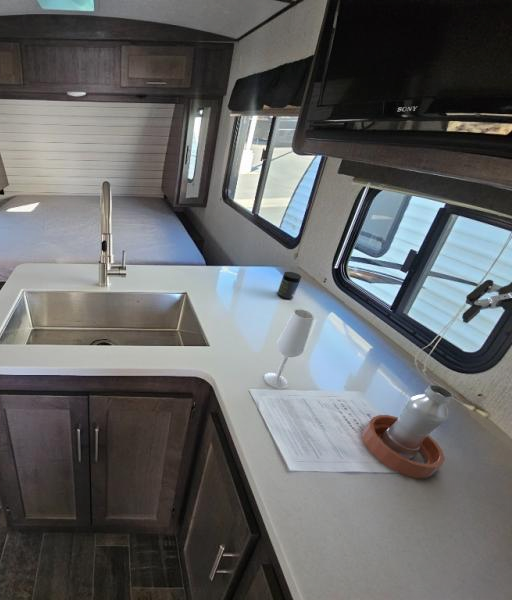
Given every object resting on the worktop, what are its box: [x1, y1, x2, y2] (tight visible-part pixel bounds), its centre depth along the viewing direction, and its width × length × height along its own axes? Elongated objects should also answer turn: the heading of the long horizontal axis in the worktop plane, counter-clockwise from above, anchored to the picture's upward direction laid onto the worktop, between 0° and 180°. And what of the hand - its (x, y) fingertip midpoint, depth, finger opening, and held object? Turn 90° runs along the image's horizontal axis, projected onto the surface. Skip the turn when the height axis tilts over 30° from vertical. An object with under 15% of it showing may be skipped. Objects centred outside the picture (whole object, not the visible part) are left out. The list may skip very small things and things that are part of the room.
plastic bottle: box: [379, 384, 454, 460], centre depth 71 cm, size 6×7×20 cm
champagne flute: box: [263, 308, 315, 390], centre depth 90 cm, size 7×7×24 cm
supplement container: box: [277, 271, 302, 300], centre depth 139 cm, size 7×7×10 cm
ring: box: [361, 414, 445, 479], centre depth 75 cm, size 14×14×6 cm
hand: (490, 331), depth 68 cm, fingers open, 8 cm apart
